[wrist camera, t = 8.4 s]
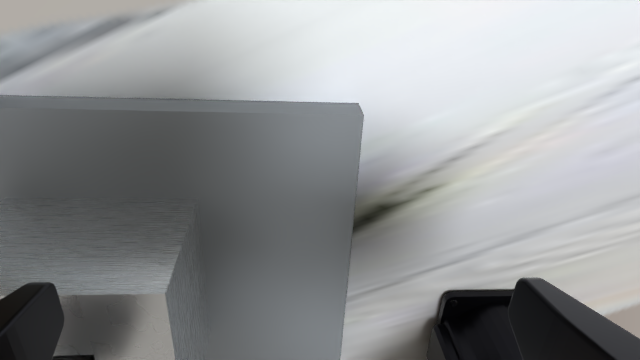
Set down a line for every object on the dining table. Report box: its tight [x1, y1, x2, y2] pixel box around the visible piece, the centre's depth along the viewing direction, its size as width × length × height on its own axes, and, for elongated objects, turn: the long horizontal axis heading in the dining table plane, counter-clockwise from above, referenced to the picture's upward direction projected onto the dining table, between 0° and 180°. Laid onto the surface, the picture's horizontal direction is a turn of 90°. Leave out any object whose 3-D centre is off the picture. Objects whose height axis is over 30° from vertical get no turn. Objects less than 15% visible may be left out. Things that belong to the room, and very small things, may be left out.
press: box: [0, 198, 210, 360], centre depth 18 cm, size 8×8×6 cm
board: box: [0, 95, 364, 360], centre depth 22 cm, size 22×16×2 cm
